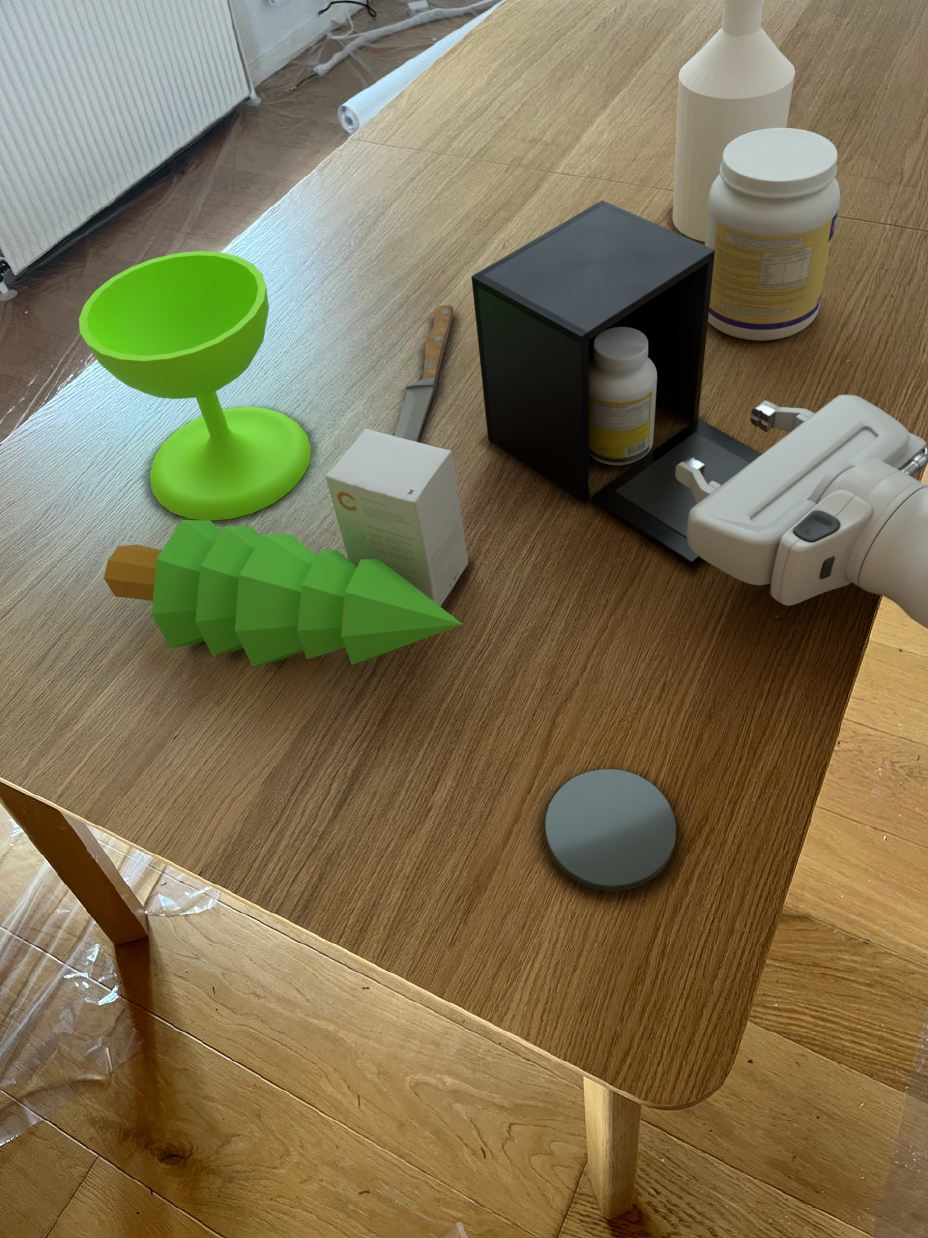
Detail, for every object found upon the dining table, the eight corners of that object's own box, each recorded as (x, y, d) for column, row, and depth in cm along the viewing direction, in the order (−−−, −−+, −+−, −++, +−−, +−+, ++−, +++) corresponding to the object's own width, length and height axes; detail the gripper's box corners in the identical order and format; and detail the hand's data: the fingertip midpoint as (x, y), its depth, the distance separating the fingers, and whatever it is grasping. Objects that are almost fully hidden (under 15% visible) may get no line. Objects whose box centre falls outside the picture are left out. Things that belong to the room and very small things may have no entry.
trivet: (656, 765, 74) (657, 758, 73) (691, 879, 68) (692, 873, 68) (534, 787, 74) (533, 780, 73) (559, 903, 68) (558, 896, 68)
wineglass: (264, 534, 93) (207, 373, 80) (118, 503, 98) (40, 346, 84) (337, 423, 103) (298, 261, 89) (200, 399, 107) (142, 242, 93)
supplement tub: (839, 329, 104) (874, 168, 91) (726, 357, 103) (745, 198, 90) (786, 268, 112) (811, 111, 99) (680, 293, 111) (692, 138, 98)
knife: (426, 304, 112) (453, 304, 111) (427, 313, 113) (454, 313, 112) (371, 506, 93) (403, 507, 93) (373, 515, 94) (405, 516, 94)
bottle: (765, 248, 115) (800, 4, 96) (660, 239, 118) (673, 2, 99) (781, 194, 122) (815, -43, 102) (681, 187, 125) (696, -45, 106)
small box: (470, 563, 89) (454, 449, 79) (436, 616, 85) (415, 503, 75) (389, 539, 92) (364, 425, 82) (353, 588, 88) (323, 476, 78)
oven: (803, 478, 91) (839, 304, 78) (686, 572, 86) (703, 403, 72) (601, 364, 104) (602, 199, 91) (488, 440, 99) (471, 275, 85)
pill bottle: (614, 414, 99) (616, 310, 90) (667, 442, 96) (675, 337, 87) (569, 449, 97) (566, 346, 88) (622, 479, 94) (625, 375, 85)
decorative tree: (105, 482, 81) (461, 528, 73) (176, 537, 92) (494, 582, 83) (58, 617, 79) (423, 681, 70) (138, 657, 89) (463, 717, 80)
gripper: (952, 420, 79) (804, 348, 87) (783, 562, 72) (637, 470, 79) (931, 480, 84) (793, 407, 91) (771, 618, 77) (635, 527, 84)
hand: (719, 438), depth 85 cm, fingers open, 8 cm apart
